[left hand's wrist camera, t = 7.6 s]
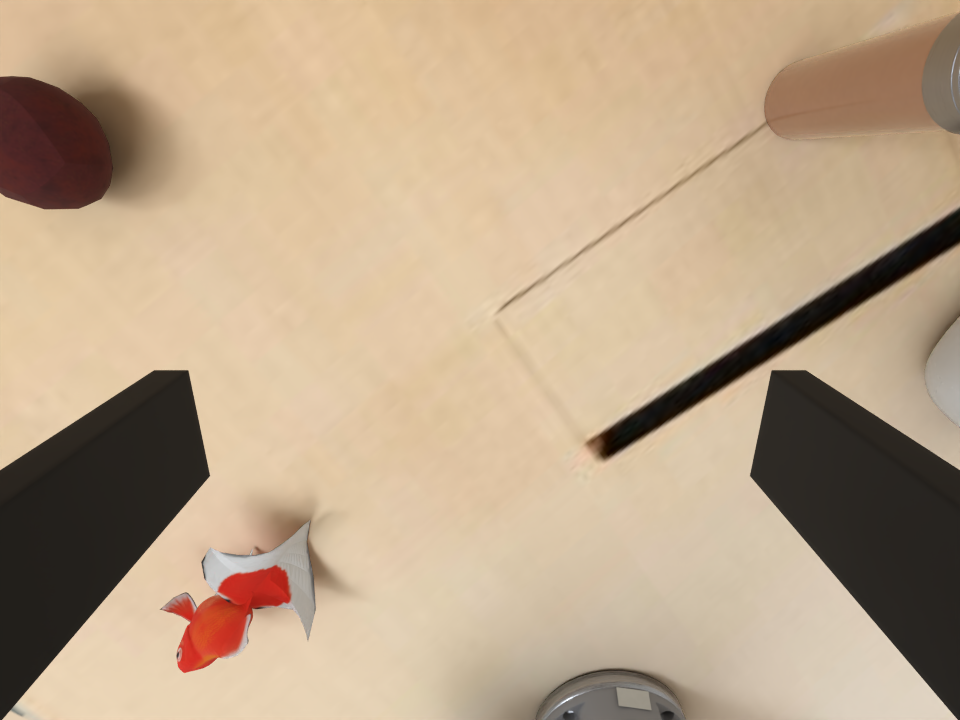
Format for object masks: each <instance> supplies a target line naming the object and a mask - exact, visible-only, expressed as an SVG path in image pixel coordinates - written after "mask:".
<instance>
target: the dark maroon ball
mask: <svg viewBox="0 0 960 720" xmlns="http://www.w3.org/2000/svg"><path fill="white" fill-rule="evenodd" d="M112 170H113V166H112V160H111V154H110V148H109V143H108V140H107V138H106V136H105V134H104V132H103V130H102V128H101V126H100V124H99V122H98V120H97V118H96V117H95V116H94V115H93V114H92V113H91V112H90V111H89V110H88V109H87V108H86V107H85V106H84V105H83V104H82V103H80V102H79V101H77V100H76V99H75V98H73V97H72V96H70V95H69V94H67V93H66V92H64V91H63V90H61V89H60V88H58V87H55V86H52V85H50V84H47V83H45V82H42V81H39V80H36V79H33V78H30V77H16V76H9V77H0V193H1V194H3V195H4V196H5V197H8V198H11V199H14V200H17V201H20V202H23V203H27V204H30V205H33V206H36V207H39V208H42V209H79V208H82V207H84V206H87V205H89V204H91V203H93V202H95V201H97V200H100V199H101V198H102V197H103V195H104V194H105V192H106V191H107V189H108V188H109V186H110V182H111V176H112Z"/></svg>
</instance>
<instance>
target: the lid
mask: <svg viewBox="0 0 960 720" xmlns="http://www.w3.org/2000/svg"><path fill="white" fill-rule="evenodd" d="M922 96H923V101H924V104H925V107H926V110H927V112H928V113H929V115H930V117H931V118H932V119H933V120H934V122H935V123H937V124H938V125H939V126H940V127H941V128H943V129H945V130H947V131H949V132H952V133H955V134H960V13H959V14H957V15H956V16H955V17H954V18H953V19H952V20H951V21H950V22H949V23H948V24H947V25H946V27H945V28H944V29H943V30H942V32H941V33H940V34H939V36H938V37H937V39H936V41H935V42H934V44H933V46H932V48H931V50H930V52H929V54H928V57H927V59H926V63H925V66H924V70H923V76H922Z"/></svg>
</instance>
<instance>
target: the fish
mask: <svg viewBox="0 0 960 720" xmlns="http://www.w3.org/2000/svg"><path fill="white" fill-rule="evenodd" d="M310 522H311V521H308V522H307V523H305V524H304V525H303V526H302V527H301V528H300V529H299V530H298V531H297V532H296V533H295V534H294V535H293V536H292V537H290V538H289V539H288V540H286V541H285V542H284V543H282V544H281V545H279V546H278V547H277V548H275V549H274V550H272V551H271V552H268V553H263V554H259V555H252V552H253V549H252V550H251V553H250V555H234V554H228V553H222V552H219V551H217V550H215V549H212V548H210V549H209V550H208V552H207V554H206V555H205V557H204V559H203V560H202V568H203V573H204V578H205V580H206V581H207V583H208V584H209V586H210V587H211V588H212V589H213V590H214V591H215V592H216V595H215V596H212V597H210V598H208V599H207V600H205V601H204V602H202V603H201V604H200V606H199V607H198V608H197V607H196V604H195V602H194V601H193V599H192V598H191V596H190V595H189V594H188V593H183V594H181V595H179V596H176V597H174V598H173V599H172V600H171V601H169V602H168V603H167V604H166V605H165V606H164V607H163V608H161V609H160V610H164V611H167V612H170V613H174V614H176V615H179V616H182V617H183V618H185V619H186V620H188V621H189V622H191V623H190V624H189V625H188V626H187V628H186V630H185V633H184V635H183V638H182V640H181V642H180V645H179V647H178V650H177V662H178V667H179V668H180V670H181V671H182V672H184V673H186V672H190V671H194V670H198V669H202V668H204V667H206V666H208V665H210V664H211V663H212V662H214V661H215V660H216V659H217V658H219V657H220V658H230V657H234V656H237V655H238V654H239V653H240V652H242V651H243V649H244V648H245V646H246V645H247V644H248V637H247V631H248V627H249V625H250V623H251V621H252V618H253V611H252V608H253V609H261V608H269V607H280V608H286V609H293V610H294V611H295V612H296V613H297V615H298V616H299V617H300V619H301V621H302V624H303V626H304V629H305V632H306V635H307V640H308V639H309V635H310V631H311V626H312V622H313V618H314V614H315V610H316V606H315V592H314V577H313V572H312V567H311V562H310V556H309V550H308V544H307V538H308V532H309V525H310Z"/></svg>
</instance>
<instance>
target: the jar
mask: <svg viewBox="0 0 960 720" xmlns="http://www.w3.org/2000/svg"><path fill="white" fill-rule="evenodd" d="M959 13H960V11H959V12H955V13H952V14H949V15H946V16H943V17H939V18H936V19H933V20H930V21H926V22H923V23H920V24H917V25H913V26H910V27H907V28H904V29H900V30H897V31H894V32H891V33H887V34H884V35H881V36H878V37H874V38H871V39H868V40H865V41H861V42H858V43H855V44H852V45H848V46H845V47H842V48H839V49H835V50H832V51H829V52H826V53H822V54H819V55H816V56H813V57H809V58H806V59H803V60H800V61H797V62H794V63H792V64H790V65H789V66H787V67H786V68H784V69H783V70H782V71H781V72H780V73H779V74H778V75H777V76H776V78H775V79H774V80H773V82H772V84H771V85H770V87H769V89H768V92H767V95H766V99H765V117H766V120H767V122H768V125H769V126H770V128H771V129H772V130H773V131H774V132H775V133H776V134H777V135H778V136H780V137H782V138H785V139H789V140H803V139H820V138H836V137H853V136H869V135H886V134H902V133H919V132H935V131H947V130H945V129H943V128H941V127H940V126H939V125H938V124H937V123H935V122H934V120H933V119H932V118H931V117H930V115H929V113H928V112H927V110H926V107H925V104H924V101H923V96H922V76H923V70H924V66H925V63H926V59H927V57H928V54H929V52H930V50H931V48H932V46H933V44H934V42H935V41H936V39H937V37H938V36H939V34H940V33H941V32H942V30H943V29H944V28H945V27H946V25H947V24H948V23H949V22H950V21H951V20H952V19H953V18H954V17H955V16H956V15H957V14H959Z"/></svg>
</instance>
